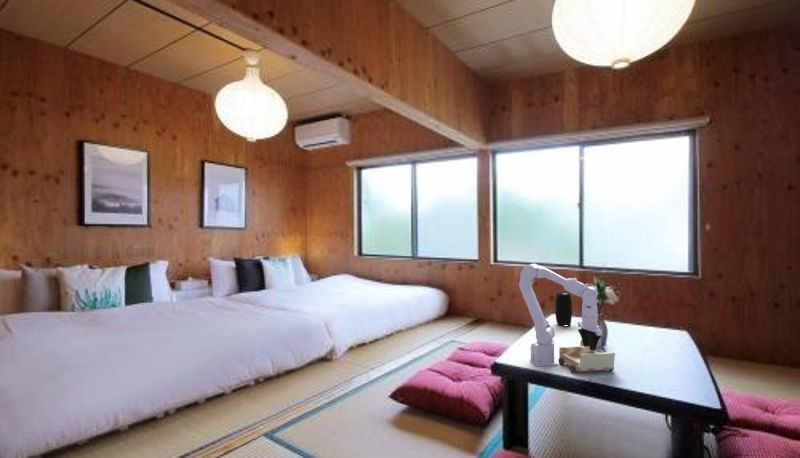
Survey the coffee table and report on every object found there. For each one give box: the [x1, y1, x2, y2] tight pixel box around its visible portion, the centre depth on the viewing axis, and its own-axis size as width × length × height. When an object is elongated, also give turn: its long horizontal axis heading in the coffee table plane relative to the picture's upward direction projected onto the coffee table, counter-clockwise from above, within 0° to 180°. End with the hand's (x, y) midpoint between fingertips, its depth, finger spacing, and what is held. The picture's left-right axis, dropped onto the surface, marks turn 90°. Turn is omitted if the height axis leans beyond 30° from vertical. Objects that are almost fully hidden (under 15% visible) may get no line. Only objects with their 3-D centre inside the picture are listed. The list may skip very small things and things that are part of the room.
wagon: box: [557, 345, 615, 374], centre depth 173 cm, size 18×14×7 cm
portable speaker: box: [554, 291, 573, 326], centre depth 244 cm, size 9×9×20 cm
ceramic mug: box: [579, 338, 607, 353], centre depth 194 cm, size 11×8×8 cm
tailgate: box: [579, 351, 616, 369], centre depth 165 cm, size 14×1×6 cm, turn 97°
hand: (589, 348), depth 170 cm, fingers open, 4 cm apart
